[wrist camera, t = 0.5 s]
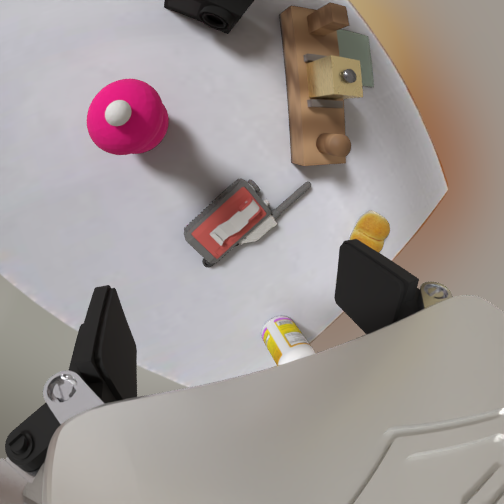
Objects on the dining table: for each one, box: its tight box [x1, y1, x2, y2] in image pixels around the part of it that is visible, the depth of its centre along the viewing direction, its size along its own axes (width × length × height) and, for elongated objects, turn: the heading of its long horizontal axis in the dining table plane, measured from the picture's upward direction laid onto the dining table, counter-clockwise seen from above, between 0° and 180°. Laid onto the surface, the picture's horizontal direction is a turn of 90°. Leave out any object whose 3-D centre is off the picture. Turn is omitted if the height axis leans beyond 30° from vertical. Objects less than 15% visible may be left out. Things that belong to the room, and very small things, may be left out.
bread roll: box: [350, 210, 390, 253], centre depth 48 cm, size 8×9×4 cm
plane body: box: [279, 3, 351, 166], centre depth 31 cm, size 24×7×10 cm, turn 5°
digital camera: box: [164, 0, 254, 34], centre depth 23 cm, size 10×5×7 cm, turn 62°
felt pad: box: [336, 29, 374, 87], centre depth 35 cm, size 10×8×1 cm
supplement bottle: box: [261, 316, 315, 366], centre depth 46 cm, size 7×7×13 cm
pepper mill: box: [87, 79, 169, 155], centre depth 22 cm, size 7×7×20 cm
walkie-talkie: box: [184, 179, 311, 267], centre depth 39 cm, size 9×4×20 cm
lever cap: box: [306, 55, 363, 99], centre depth 29 cm, size 5×4×7 cm
